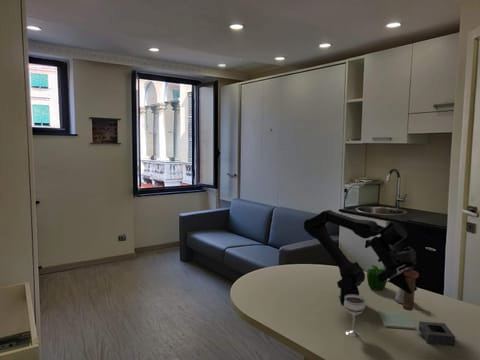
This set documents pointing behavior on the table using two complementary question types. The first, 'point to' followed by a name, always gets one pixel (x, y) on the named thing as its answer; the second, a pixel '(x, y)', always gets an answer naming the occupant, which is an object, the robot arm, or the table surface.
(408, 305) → the walnut peg
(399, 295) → the flask
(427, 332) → the eye block
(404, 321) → the green pad
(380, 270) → the bell pepper
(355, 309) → the wineglass
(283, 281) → the table surface
